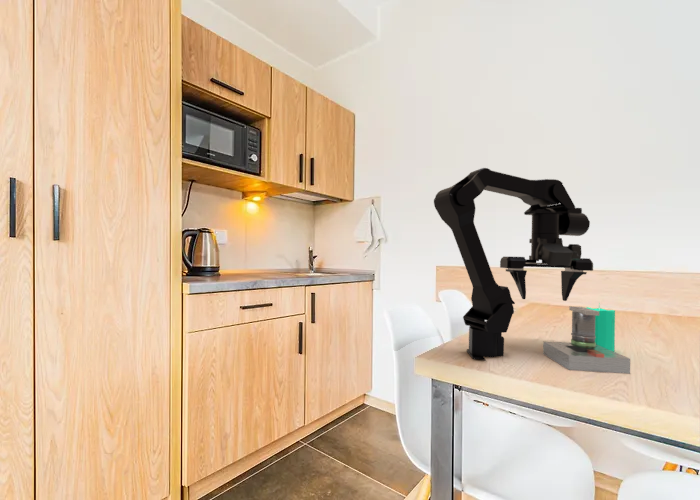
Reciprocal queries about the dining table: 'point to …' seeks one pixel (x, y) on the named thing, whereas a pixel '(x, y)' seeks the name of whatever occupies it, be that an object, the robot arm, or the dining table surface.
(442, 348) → the dining table surface
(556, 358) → the flat box
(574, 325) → the column
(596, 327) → the candle
